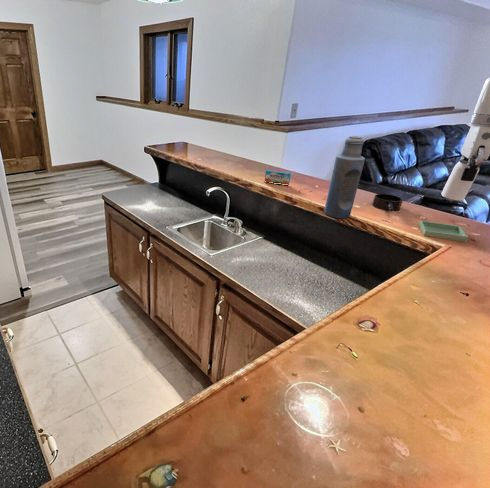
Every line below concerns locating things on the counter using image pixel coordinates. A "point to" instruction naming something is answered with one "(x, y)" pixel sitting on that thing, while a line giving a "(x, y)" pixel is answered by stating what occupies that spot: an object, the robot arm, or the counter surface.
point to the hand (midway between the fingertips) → (463, 177)
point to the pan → (387, 202)
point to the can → (457, 183)
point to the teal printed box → (277, 177)
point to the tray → (443, 231)
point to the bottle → (345, 179)
